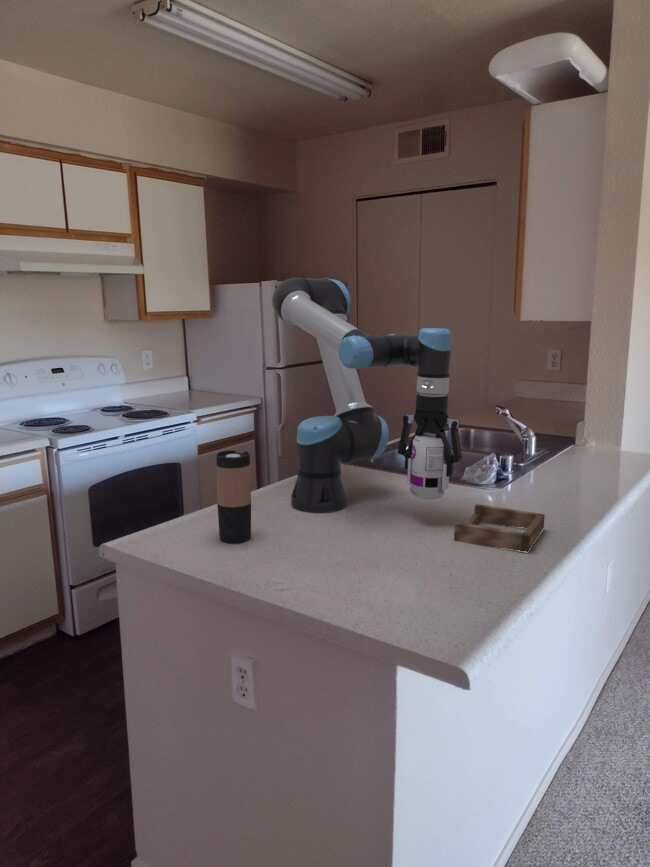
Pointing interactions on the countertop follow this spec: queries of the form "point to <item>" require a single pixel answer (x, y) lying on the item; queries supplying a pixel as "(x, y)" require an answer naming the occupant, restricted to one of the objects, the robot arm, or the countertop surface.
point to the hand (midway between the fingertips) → (427, 485)
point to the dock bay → (500, 537)
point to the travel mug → (234, 496)
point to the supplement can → (427, 466)
